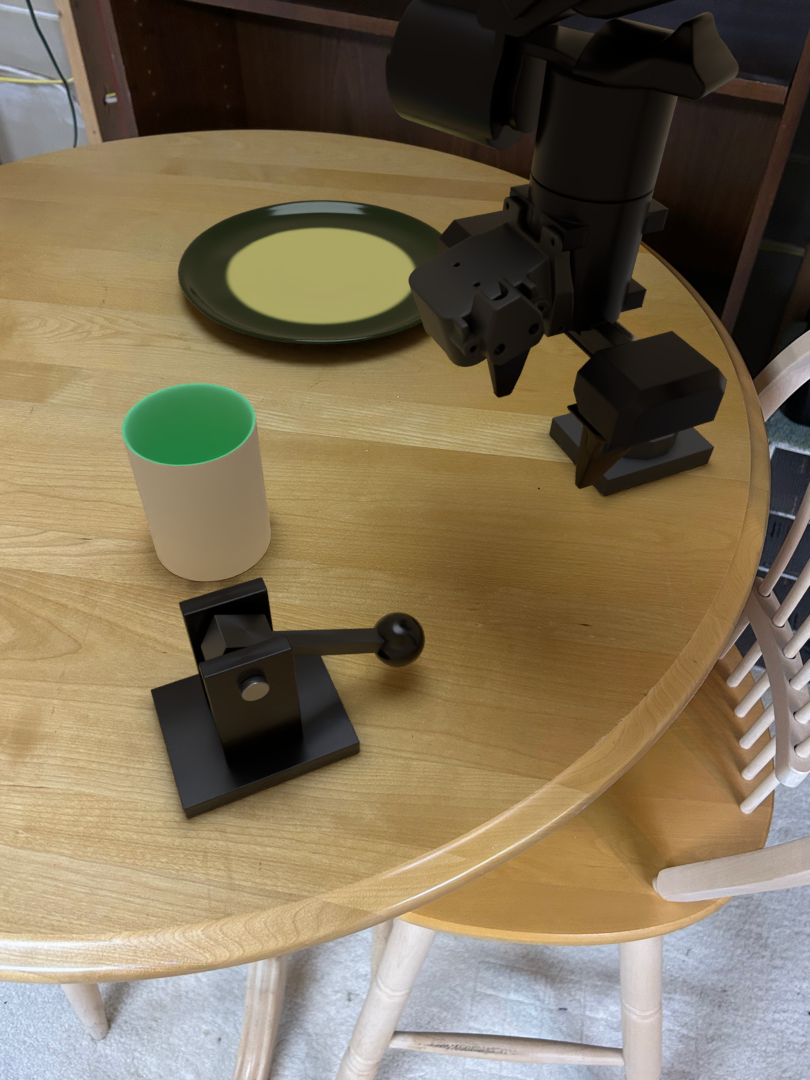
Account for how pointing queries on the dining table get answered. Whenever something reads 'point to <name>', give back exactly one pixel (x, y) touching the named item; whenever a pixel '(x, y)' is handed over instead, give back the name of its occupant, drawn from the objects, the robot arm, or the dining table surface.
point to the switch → (247, 710)
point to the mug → (200, 479)
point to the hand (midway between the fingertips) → (541, 437)
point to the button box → (638, 455)
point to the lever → (321, 638)
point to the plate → (309, 271)
